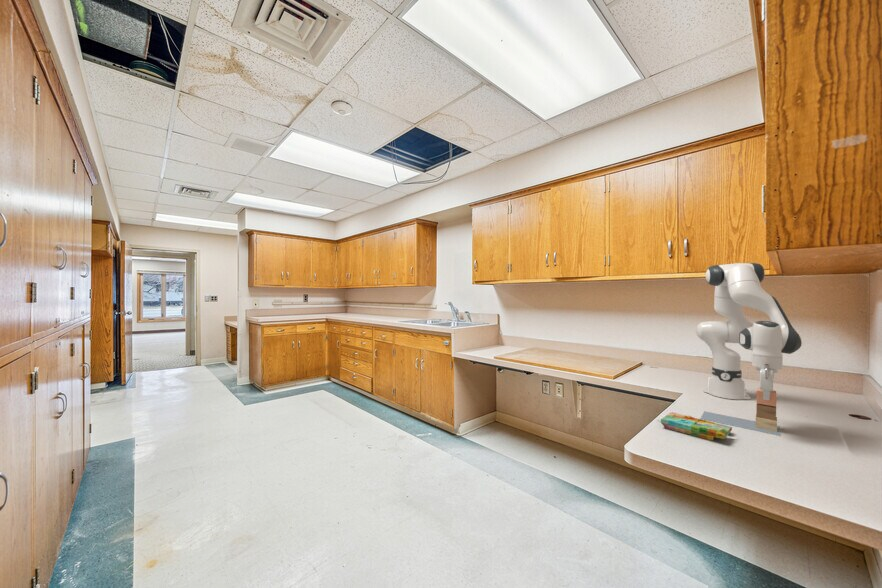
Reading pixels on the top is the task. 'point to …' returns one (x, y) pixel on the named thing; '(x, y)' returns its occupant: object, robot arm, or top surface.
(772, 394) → the terracotta block
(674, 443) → the top surface
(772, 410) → the walnut block
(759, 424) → the oak brick
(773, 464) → the top surface
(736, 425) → the baseplate
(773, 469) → the top surface
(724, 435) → the puzzle game
